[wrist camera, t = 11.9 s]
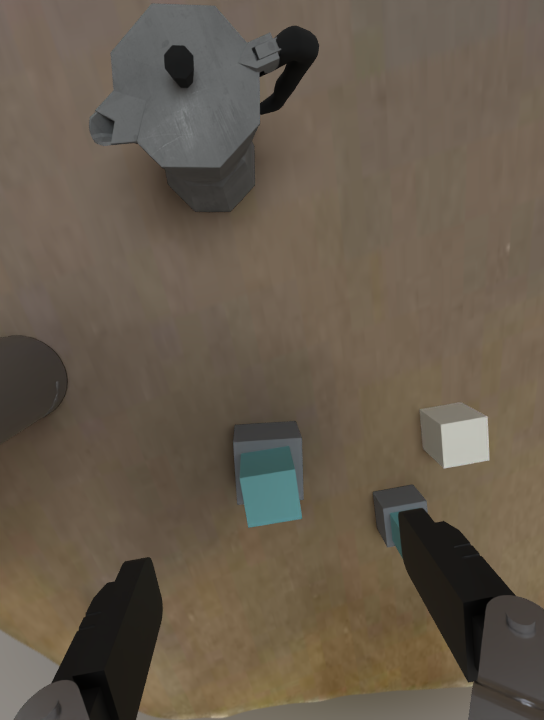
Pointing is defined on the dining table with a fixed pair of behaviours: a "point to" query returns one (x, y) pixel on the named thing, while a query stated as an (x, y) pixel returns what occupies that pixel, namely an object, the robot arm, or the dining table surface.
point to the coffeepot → (198, 97)
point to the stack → (395, 511)
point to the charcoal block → (268, 446)
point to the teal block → (269, 486)
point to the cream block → (455, 434)
